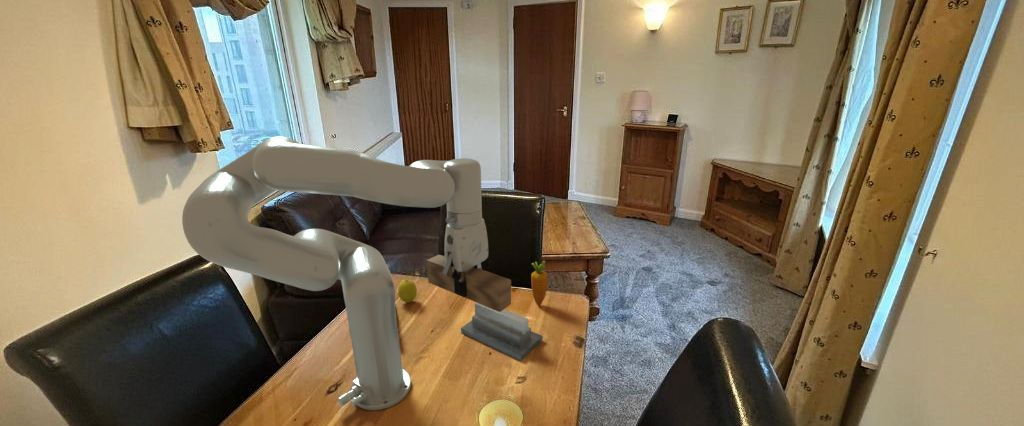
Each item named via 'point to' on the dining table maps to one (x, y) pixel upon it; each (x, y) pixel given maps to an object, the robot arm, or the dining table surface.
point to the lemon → (407, 291)
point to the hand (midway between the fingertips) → (467, 290)
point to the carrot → (539, 283)
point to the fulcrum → (502, 331)
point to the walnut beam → (473, 284)
